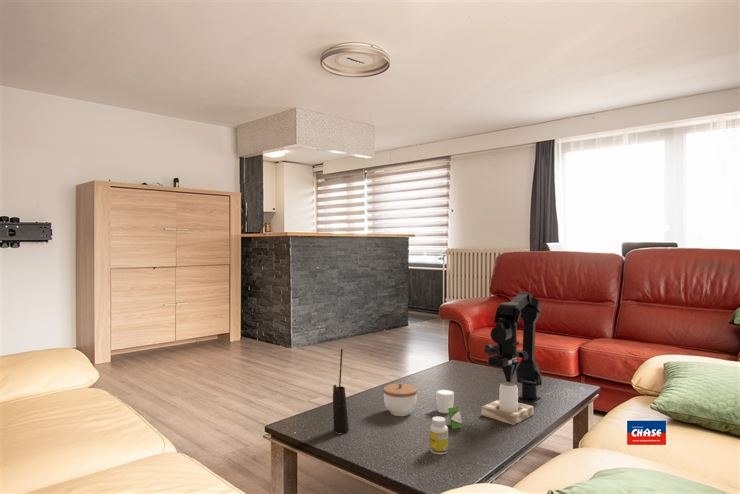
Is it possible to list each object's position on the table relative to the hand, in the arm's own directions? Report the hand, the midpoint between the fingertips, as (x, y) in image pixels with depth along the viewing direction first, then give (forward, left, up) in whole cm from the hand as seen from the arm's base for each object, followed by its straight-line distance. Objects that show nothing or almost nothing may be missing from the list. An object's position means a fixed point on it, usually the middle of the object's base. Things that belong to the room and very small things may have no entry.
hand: (508, 381), depth 167 cm
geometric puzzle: (+22, -8, -13) cm, 27 cm away
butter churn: (+53, -33, -13) cm, 63 cm away
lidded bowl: (+26, -30, -13) cm, 41 cm away
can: (0, 0, -13) cm, 13 cm away
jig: (-1, -1, -13) cm, 13 cm away
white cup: (+12, -20, -13) cm, 26 cm away
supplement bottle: (+41, 0, -13) cm, 43 cm away
